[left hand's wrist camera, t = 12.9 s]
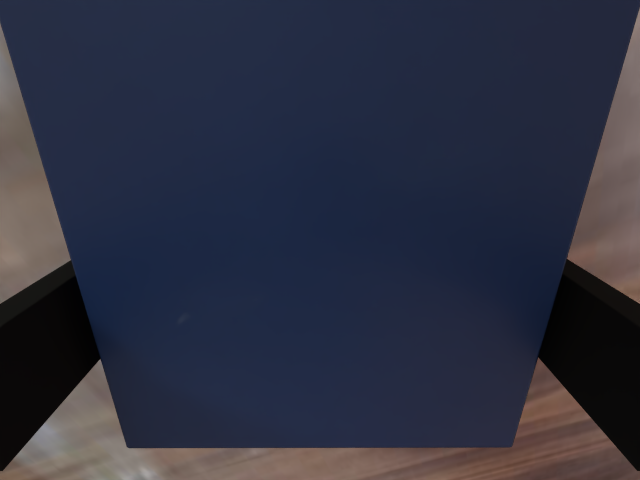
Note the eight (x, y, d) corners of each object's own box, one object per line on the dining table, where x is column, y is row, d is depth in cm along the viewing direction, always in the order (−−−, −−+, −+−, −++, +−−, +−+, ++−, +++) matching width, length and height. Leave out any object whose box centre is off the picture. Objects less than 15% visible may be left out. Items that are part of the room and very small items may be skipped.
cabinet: (187, -38, 15) (-123, -375, 4) (450, -38, 15) (755, -379, 4) (224, 275, 20) (126, 449, 10) (414, 274, 20) (513, 449, 10)
